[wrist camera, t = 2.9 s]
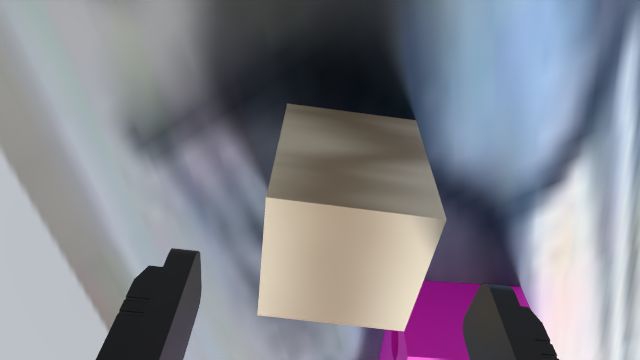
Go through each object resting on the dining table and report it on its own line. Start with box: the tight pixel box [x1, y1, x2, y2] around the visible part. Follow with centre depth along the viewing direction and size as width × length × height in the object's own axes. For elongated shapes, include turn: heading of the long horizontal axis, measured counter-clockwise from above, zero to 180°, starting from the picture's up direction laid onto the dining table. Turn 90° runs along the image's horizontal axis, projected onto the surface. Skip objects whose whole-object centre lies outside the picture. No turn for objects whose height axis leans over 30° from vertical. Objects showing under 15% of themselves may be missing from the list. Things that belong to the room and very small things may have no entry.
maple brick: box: [258, 103, 447, 331], centre depth 16 cm, size 5×5×6 cm
